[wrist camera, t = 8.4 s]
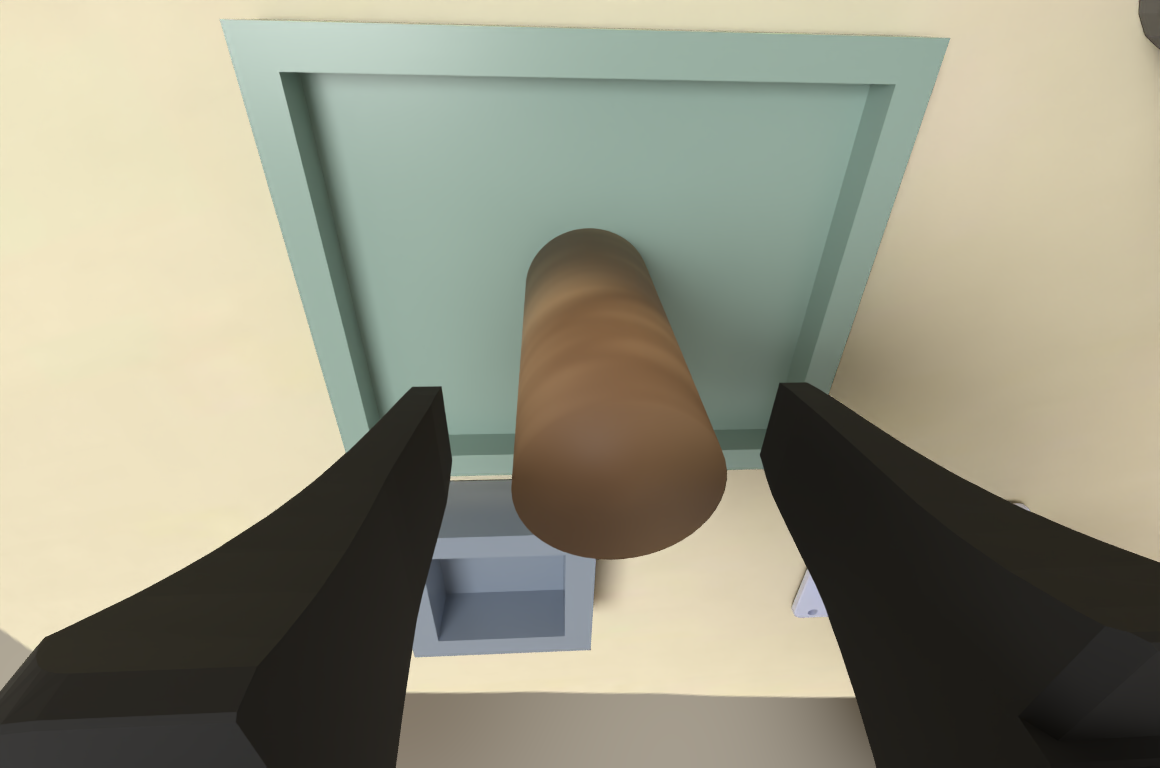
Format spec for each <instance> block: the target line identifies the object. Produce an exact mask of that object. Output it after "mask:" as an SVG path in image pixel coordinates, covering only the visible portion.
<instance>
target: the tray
mask: <svg viewBox="0 0 1160 768" xmlns="http://www.w3.org/2000/svg"><path fill="white" fill-rule="evenodd" d="M220 22H221V25H222V29H223V32H224V35H225V39H226V42H227V46H228V49H229V53H230V56H231V60H232V63H233V66H234V70H235V73H236V77H237V80H238V84H239V87H240V90H241V94H242V97H243V101H244V104H245V108H246V111H247V115H248V118H249V121H250V125H251V128H252V132H253V135H254V139H255V142H256V146H257V149H258V152H259V156H260V159H261V163H262V166H263V170H264V173H265V176H266V180H267V183H268V187H269V190H270V194H271V197H272V201H273V204H274V207H275V211H276V214H277V218H278V221H279V225H280V228H281V231H282V235H283V238H284V242H285V245H286V249H287V252H288V256H289V259H290V262H291V266H292V269H293V273H294V276H295V280H296V283H297V286H298V290H299V293H300V297H301V300H302V304H303V307H304V311H305V314H306V317H307V321H308V324H309V328H310V331H311V335H312V338H313V341H314V345H315V348H316V352H317V355H318V359H319V362H320V366H321V369H322V372H323V376H324V379H325V383H326V386H327V390H328V393H329V396H330V400H331V403H332V407H333V410H334V414H335V417H336V421H337V424H338V427H339V431H340V434H341V438H342V441H343V445H344V448H345V451H346V453H347V452H348V451H349V450H350V449H351V448H352V447H353V446H354V445H355V444H356V443H357V442H358V441H359V440H360V439H361V438H362V437H363V436H364V435H365V434H366V433H367V432H368V431H369V430H370V429H371V428H372V427H373V426H374V425H375V424H376V423H377V422H378V421H379V420H380V419H381V418H382V417H383V416H384V415H385V414H386V413H387V412H388V411H389V410H390V409H391V408H392V407H393V405H394V404H395V403H396V402H397V401H398V400H399V399H400V398H401V397H402V396H403V395H404V394H405V393H406V392H407V391H408V390H409V389H410V388H411V387H427V386H442V392H443V399H444V406H445V413H446V420H447V427H448V434H449V440H450V447H451V454H452V468H451V476H476V475H512V471H513V457H514V443H515V429H516V414H517V400H518V386H519V372H520V358H521V344H522V330H523V316H524V302H525V288H526V278H527V273H528V270H529V267H530V265H531V263H532V261H533V259H534V257H535V256H536V255H537V253H538V252H539V251H540V250H541V249H542V248H543V247H544V246H545V245H546V244H547V243H548V242H549V241H551V240H552V239H554V238H555V237H557V236H559V235H561V234H563V233H566V232H569V231H572V230H576V229H583V228H595V229H602V230H606V231H610V232H612V233H615V234H617V235H619V236H621V237H623V238H624V239H626V240H627V241H628V242H630V243H631V244H632V245H633V246H634V247H635V248H636V249H637V251H638V252H639V253H640V255H641V257H642V258H643V260H644V262H645V265H646V267H647V269H648V272H649V274H650V277H651V279H652V282H653V284H654V286H655V289H656V291H657V294H658V296H659V299H660V301H661V303H662V306H663V308H664V311H665V313H666V316H667V318H668V320H669V323H670V325H671V328H672V330H673V333H674V335H675V337H676V340H677V342H678V345H679V347H680V350H681V352H682V354H683V357H684V359H685V362H686V364H687V367H688V369H689V371H690V374H691V376H692V379H693V381H694V384H695V386H696V388H697V391H698V393H699V396H700V398H701V401H702V403H703V405H704V408H705V410H706V413H707V415H708V418H709V420H710V422H711V425H712V427H713V430H714V432H715V435H716V437H717V439H718V442H719V444H720V447H721V449H722V452H723V455H724V457H725V461H726V467H727V470H742V469H764V468H763V464H762V461H761V458H760V452H761V448H762V445H763V441H764V437H765V434H766V430H767V426H768V423H769V419H770V415H771V412H772V408H773V404H774V401H775V397H776V393H777V390H778V386H779V383H792V382H807V383H809V384H811V385H813V386H815V387H816V388H818V389H820V390H821V391H823V392H825V393H826V394H829V391H830V388H831V385H832V383H833V380H834V377H835V374H836V371H837V368H838V365H839V362H840V359H841V356H842V353H843V350H844V347H845V345H846V342H847V339H848V336H849V333H850V330H851V327H852V324H853V321H854V318H855V315H856V312H857V309H858V306H859V304H860V301H861V298H862V295H863V292H864V289H865V286H866V283H867V280H868V277H869V274H870V271H871V268H872V266H873V263H874V260H875V257H876V254H877V251H878V248H879V245H880V242H881V239H882V236H883V233H884V230H885V228H886V225H887V222H888V219H889V216H890V213H891V210H892V207H893V204H894V201H895V198H896V195H897V192H898V189H899V187H900V184H901V181H902V178H903V175H904V172H905V169H906V166H907V163H908V160H909V157H910V154H911V151H912V149H913V146H914V143H915V140H916V137H917V134H918V131H919V128H920V125H921V122H922V119H923V116H924V113H925V110H926V108H927V105H928V102H929V99H930V96H931V93H932V90H933V87H934V84H935V81H936V78H937V75H938V72H939V70H940V67H941V64H942V61H943V58H944V55H945V52H946V49H947V46H948V43H949V40H950V38H937V37H916V36H884V35H846V34H807V33H769V32H730V31H692V30H653V29H615V28H576V27H537V26H499V25H460V24H422V23H383V22H345V21H306V20H268V19H220Z"/></svg>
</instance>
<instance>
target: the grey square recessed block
mask: <svg viewBox="0 0 1160 768" xmlns="http://www.w3.org/2000/svg"><path fill="white" fill-rule="evenodd" d="M511 485H512V480H482V481H450V485H449V492H448V499H447V504H446V508H445V512H444V516H443V520H442V524H441V528H440V531H439V535H438V539H437V543H436V547H435V550H434V554H433V558H432V562H431V565H430V569H429V573H428V576H427V580H426V584H425V588H424V591H423V595H422V599H421V604H420V608H419V613H418V618H417V623H416V629H415V636H414V642H413V652H414V656H415V657H433V656H457V655H481V654H505V653H529V652H553V651H577V650H591V633H592V617H593V600H594V583H595V566H596V559H593V558H585V557H580V556H576V555H572V554H569V553H566V552H563V551H560V550H558V549H556V548H553V547H551V546H550V545H548V544H546V543H545V542H543V541H541V540H540V539H539V538H537V537H536V536H535V535H533V534H532V533H531V532H530V530H529V529H528V528H527V527H526V526H525V525H524V524H523V522H522V521H521V519H520V518H519V516H518V514H517V512H516V510H515V507H514V504H513V500H512V493H511Z"/></svg>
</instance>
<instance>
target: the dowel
mask: <svg viewBox="0 0 1160 768" xmlns="http://www.w3.org/2000/svg"><path fill="white" fill-rule="evenodd" d="M726 481H727V467H726V461H725V457H724V455H723V452H722V449H721V447H720V444H719V442H718V439H717V437H716V435H715V432H714V430H713V427H712V425H711V422H710V420H709V418H708V415H707V413H706V410H705V408H704V405H703V403H702V401H701V398H700V396H699V393H698V391H697V388H696V386H695V384H694V381H693V379H692V376H691V374H690V371H689V369H688V367H687V364H686V362H685V359H684V357H683V354H682V352H681V350H680V347H679V345H678V342H677V340H676V337H675V335H674V333H673V330H672V328H671V325H670V323H669V320H668V318H667V316H666V313H665V311H664V308H663V306H662V303H661V301H660V299H659V296H658V294H657V291H656V289H655V286H654V284H653V282H652V279H651V277H650V274H649V272H648V269H647V267H646V265H645V262H644V260H643V258H642V257H641V255H640V253H639V252H638V251H637V249H636V248H635V247H634V246H633V245H632V244H631V243H630V242H628V241H627V240H626V239H624V238H623V237H621V236H619V235H617V234H615V233H612V232H610V231H606V230H602V229H595V228H583V229H576V230H572V231H569V232H566V233H563V234H561V235H559V236H557V237H555V238H554V239H552V240H551V241H549V242H548V243H547V244H546V245H545V246H544V247H543V248H542V249H541V250H540V251H539V252H538V253H537V255H536V256H535V257H534V259H533V261H532V263H531V265H530V267H529V270H528V273H527V278H526V288H525V302H524V316H523V330H522V344H521V358H520V372H519V386H518V400H517V414H516V429H515V443H514V457H513V471H512V485H511V493H512V500H513V504H514V507H515V510H516V512H517V514H518V516H519V518H520V519H521V521H522V522H523V524H524V525H525V526H526V527H527V528H528V529H529V530H530V532H531V533H532V534H533V535H535V536H536V537H537V538H539V539H540V540H541V541H543V542H545V543H546V544H548V545H550V546H551V547H553V548H556V549H558V550H560V551H563V552H566V553H569V554H572V555H576V556H580V557H585V558H593V559H609V560H611V559H626V558H633V557H639V556H643V555H647V554H651V553H654V552H657V551H660V550H663V549H665V548H667V547H670V546H672V545H674V544H676V543H678V542H680V541H682V540H683V539H685V538H686V537H688V536H689V535H691V534H692V533H693V532H695V531H696V530H697V529H698V528H700V527H701V526H702V525H703V524H704V523H705V522H706V521H707V520H708V519H709V518H710V516H711V515H712V514H713V512H714V511H715V510H716V508H717V506H718V504H719V503H720V501H721V499H722V496H723V493H724V491H725V486H726Z"/></svg>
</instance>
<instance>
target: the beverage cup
mask: <svg viewBox="0 0 1160 768" xmlns="http://www.w3.org/2000/svg"><path fill="white" fill-rule="evenodd" d="M1139 15H1140V19H1141V22H1142V25H1143V29H1144V32H1145V35H1146V36H1147V37H1148V38H1149V39H1150V40H1151V41H1152V42H1153V43H1154V44H1155V45H1156V46H1157V47H1158V48H1159V49H1160V0H1140V7H1139Z"/></svg>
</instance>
